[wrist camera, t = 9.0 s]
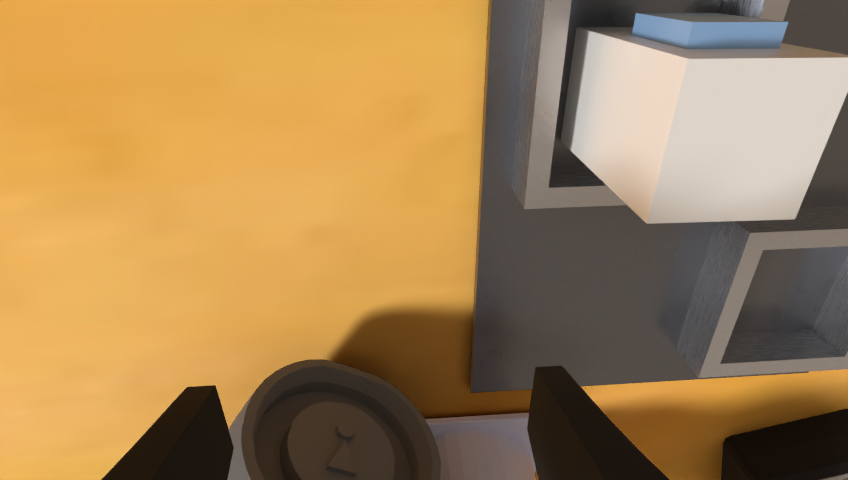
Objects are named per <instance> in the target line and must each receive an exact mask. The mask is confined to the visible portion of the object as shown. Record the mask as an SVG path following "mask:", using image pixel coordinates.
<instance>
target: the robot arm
mask: <svg viewBox="0 0 848 480" xmlns="http://www.w3.org/2000/svg"><path fill="white" fill-rule="evenodd" d="M425 420H426V422H427V424H428V426H429V427H430V429H431V431H432V434H433V436H434V438H435V441H436V444H437V447H438V451H439V455H440V460H441V477H440V480H536V476H535V473H536V470H537V474H538V477H539V480H669V479H668V478H667V477H666V476H665V475H664V474H663V473H662V472H661V471H660V470H659V469H658V468H657V467H656V466H655V465H654V464H652V463H651V462H650V461H649V460H648V459H647V458H646V457H645V456H644V455H643V454H642V453H641V452H640V451H639V450H638V449H637V448H636V447H635V446H634V445H633V444H632V442H631V441H630V440H629V439H628V438H627V437H626V436H625V435H624V434H623V433H622V432H621V431H620V430H619V429H618V428H617V427H616V426H615V425H614V424H613V423H612V422H611V420H610V419H609V418H608V417H607V416H606V415H605V414H604V413H603V412H602V411H601V409H600V408H599V407H598V406H597V405H596V404H595V403H594V402H593V401H592V399H591V398H590V397H589V396H588V395H587V394H586V393H585V391H584V390H583V389H582V388H581V387H580V386H579V384H578V383H577V382H576V381H575V380H574V379H573V378H572V376H571V375H570V374H569V373H568V372H567V371H566V369H565V368H564V367H562V366H544V367H535V373H534V380H533V388H532V395H531V402H530V410H529V413H514V414H498V415H482V416H466V417H450V418H435V419H425ZM233 449H234V447H233V443H232V440H231V436H230V433H229V430H228V426H227V423H226V420H225V416H224V413H223V410H222V406H221V403H220V399H219V396H218V393H217V389H216V386H198V387H187V388H186V389H185V390H184V391H183V392H182V393H181V394H180V395H179V396H178V397H177V399H176V400H175V401H174V402H173V403H172V404H171V405H170V406H169V407H168V408H167V410H166V411H165V412H164V413H163V414H162V415H161V416H160V417H159V418H158V419H157V421H156V422H155V423H154V424H153V425H152V426H151V427H150V428H149V429H148V430H147V432H146V433H145V434H144V435H143V436H142V437H141V438H140V439H139V440H138V441H137V443H136V444H135V445H134V446H133V447H132V448H131V449H130V450H129V451H128V452H127V453H126V454H125V455H124V456H123V457H122V458H121V460H120V461H119V462H118V463H117V464H116V465H115V466H114V467H113V468H112V469H111V470H110V471H109V472H108V473H107V474H106V475H105V476H104V477H103V479H102V480H227V479H228V474H229V469H230V464H231V459H232V454H233Z"/></svg>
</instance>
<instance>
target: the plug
mask: <svg viewBox="0 0 848 480" xmlns="http://www.w3.org/2000/svg"><path fill="white" fill-rule="evenodd" d="M787 25H788V22H785V21H777V20H769V19H760V18H752V17H744V16H736V15H728V14H719V13H636V15H635V21H634V26H633V27H577V28H576V35H575V42H574V49H573V56H572V63H571V70H570V77H569V84H568V91H567V98H566V105H565V112H564V119H563V126H562V133H561V140H560V141H561V142H562V143H563V144H564V145H565V146H566V147H567V148H568V149H569V150H570V151H571V152H572V153H573V154H574V155H576V156H577V157H578V158H579V159H580V160H581V161H582V162H583V163H584V164H585V165H586V166H587V167H588V168H589V169H590V170H591V171H592V172H593V173H594V174H595V175H596V176H597V177H598V178H599V179H601V180H602V181H603V182H604V183H605V184H606V185H607V186H608V187H609V188H610V189H611V190H612V191H613V192H614V193H615V194H616V195H617V196H618V197H619V198H620V199H621V200H622V201H623V202H624V203H626V204H627V205H628V206H629V207H630V208H631V209H632V210H633V211H634V212H635V213H636V214H637V215H638V216H639V217H640V218H641V219H642V220H643V221H644V222H645V223H646V224H656V223H689V222H722V221H755V220H788V219H795V218H796V216H797V213H798V211H799V208H800V206H801V204H802V201H803V199H804V196H805V194H806V192H807V189H808V187H809V184H810V182H811V179H812V177H813V175H814V172H815V170H816V167H817V165H818V163H819V160H820V158H821V155H822V153H823V150H824V148H825V146H826V143H827V141H828V138H829V136H830V134H831V131H832V129H833V126H834V124H835V122H836V119H837V117H838V114H839V112H840V109H841V107H842V105H843V102H844V100H845V97H846V95H847V93H848V55H846V54H840V53H834V52H829V51H823V50H818V49H812V48H806V47H801V46H795V45H789V44H784V43H782V40H783V37H784V34H785V31H786V28H787Z"/></svg>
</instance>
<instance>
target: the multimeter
mask: <svg viewBox="0 0 848 480" xmlns="http://www.w3.org/2000/svg"><path fill="white" fill-rule="evenodd" d="M721 480H848V409H844V410H839V411H835V412H831V413H827V414H822V415H818V416H814V417H810V418H805V419H801V420H797V421H793V422H788V423H784V424H780V425H776V426H771V427H767V428H763V429H758V430H754V431H750V432H746V433H741V434H737V435H733V436H730V437H728V438H726V439H725V441H724V443H723V459H722V476H721Z"/></svg>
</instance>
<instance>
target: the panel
mask: <svg viewBox="0 0 848 480" xmlns="http://www.w3.org/2000/svg"><path fill="white" fill-rule="evenodd" d="M636 13H719V14H728V15H736V16H744V17H752V18H760V19H769V20H777V21H785V22H788V25H787V28H786V31H785V34H784V37H783V40H782V43H784V44H789V45H795V46H801V47H806V48H812V49H818V50H823V51H829V52H834V53H840V54H846V55H848V0H489V7H488V27H487V47H486V67H485V88H484V108H483V128H482V148H481V168H480V189H479V209H478V229H477V249H476V269H475V289H474V310H473V330H472V350H471V370H470V389H471V393H477V392H493V391H510V390H527V389H532V388H533V380H534V373H535V367H544V366H562V367H564V368H565V369H566V371H567V372H568V373H569V374H570V375H571V376H572V378H573V379H574V380H575V381H576V382H577V383H578V384H579V386H593V385H609V384H626V383H643V382H659V381H676V380H692V379H709V378H726V377H742V376H759V375H775V374H792V373H808V372H809V371H822V370H839V369H848V93H847V95H846V97H845V100H844V102H843V105H842V107H841V109H840V112H839V114H838V117H837V119H836V122H835V124H834V126H833V129H832V131H831V134H830V136H829V138H828V141H827V143H826V146H825V148H824V150H823V153H822V155H821V158H820V160H819V163H818V165H817V167H816V170H815V172H814V175H813V177H812V179H811V182H810V184H809V187H808V189H807V192H806V194H805V196H804V199H803V201H802V204H801V206H800V208H799V211H798V213H797V216H796V218H795V219H788V220H755V221H722V222H689V223H656V224H646V223H645V222H644V221H643V220H642V219H641V218H640V217H639V216H638V215H637V214H636V213H635V212H634V211H633V210H632V209H631V208H630V207H629V206H628V205H627V204H626V203H624V202H623V201H622V200H621V199H620V198H619V197H618V196H617V195H616V194H615V193H614V192H613V191H612V190H611V189H610V188H609V187H608V186H607V185H606V184H605V183H604V182H603V181H602V180H601V179H599V178H598V177H597V176H596V175H595V174H594V173H593V172H592V171H591V170H590V169H589V168H588V167H587V166H586V165H585V164H584V163H583V162H582V161H581V160H580V159H579V158H578V157H577V156H576V155H574V154H573V153H572V152H571V151H570V150H569V149H568V148H567V147H566V146H565V145H564V144H563V143H562V142H561V141H560V140H561V133H562V126H563V119H564V112H565V105H566V98H567V91H568V84H569V77H570V70H571V63H572V56H573V49H574V42H575V35H576V28H577V27H633V26H634V21H635V15H636Z"/></svg>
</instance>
